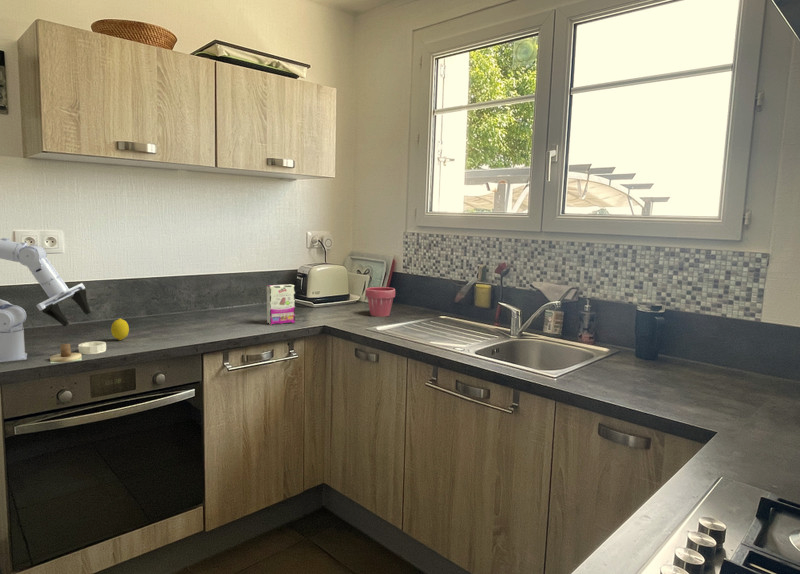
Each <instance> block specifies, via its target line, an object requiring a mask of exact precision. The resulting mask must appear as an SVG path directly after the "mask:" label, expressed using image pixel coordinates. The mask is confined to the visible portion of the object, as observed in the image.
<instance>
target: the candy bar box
mask: <svg viewBox="0 0 800 574" xmlns="http://www.w3.org/2000/svg"><path fill="white" fill-rule="evenodd" d="M266 323H267V324H268V323H269V324H268V325H270V326H273V325H272V324H276V325H284V324H283V323H287V324H295V323H296V285H294V284H293V283H292V284H274V285H272V284H271V285H266Z"/></svg>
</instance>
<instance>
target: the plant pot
mask: <svg viewBox="0 0 800 574" xmlns="http://www.w3.org/2000/svg"><path fill="white" fill-rule="evenodd" d="M365 297H366V299H367V304H368V308H369V314H370V316H371V317H379V318H384V317H388V316H391V315H390V314H391V310H392V306H393V301H394V298H396V289H395V288H394V287H388V286H387V287H385V286H372V287H367V288H365Z"/></svg>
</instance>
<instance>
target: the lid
mask: <svg viewBox="0 0 800 574" xmlns="http://www.w3.org/2000/svg"><path fill="white" fill-rule="evenodd" d="M59 347H60V353H56V354H53V355H51V356H50V357H49V360H50V361H49V362H51V361H52V362H60V363H68V361H69V362H75V361H74V360H78V359H80V358H82V355H83V354H80V353H79V352H72V351H71V349H72V348H71V344H70V343H63V344H60V346H59Z"/></svg>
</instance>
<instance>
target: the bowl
mask: <svg viewBox="0 0 800 574" xmlns="http://www.w3.org/2000/svg"><path fill="white" fill-rule="evenodd" d="M77 345H78V353H80V354H82V355H96V354H101V353H105V352H106V351H107V342H105V341H86V342H82V343H78V344H77Z"/></svg>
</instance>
